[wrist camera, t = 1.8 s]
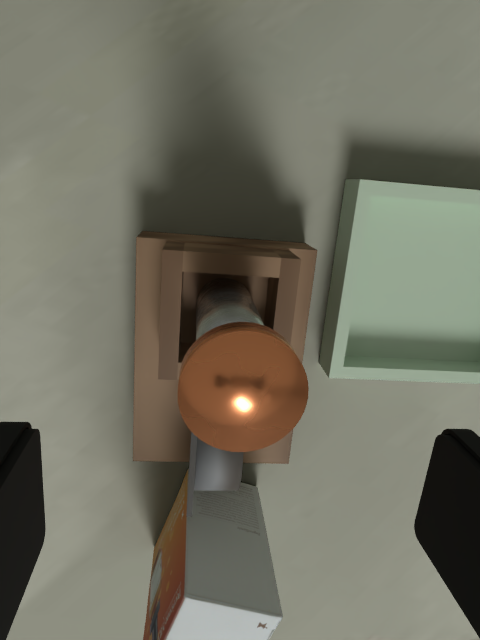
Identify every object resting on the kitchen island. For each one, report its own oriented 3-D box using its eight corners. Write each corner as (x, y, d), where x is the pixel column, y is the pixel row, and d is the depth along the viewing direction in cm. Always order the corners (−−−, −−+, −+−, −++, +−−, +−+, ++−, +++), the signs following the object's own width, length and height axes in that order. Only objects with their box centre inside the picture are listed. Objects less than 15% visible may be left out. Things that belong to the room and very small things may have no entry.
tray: (527, 196, 28) (558, 197, 26) (481, 369, 32) (504, 384, 29) (345, 179, 27) (360, 179, 25) (318, 362, 30) (329, 377, 28)
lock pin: (265, 269, 25) (316, 336, 14) (258, 342, 26) (299, 453, 16) (187, 264, 25) (180, 329, 14) (183, 339, 26) (174, 451, 15)
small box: (188, 464, 32) (184, 593, 22) (259, 484, 33) (286, 616, 23) (151, 549, 34) (132, 703, 24) (219, 566, 35) (228, 720, 25)
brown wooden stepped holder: (305, 243, 28) (347, 268, 20) (280, 438, 32) (307, 522, 24) (142, 231, 27) (120, 252, 19) (138, 435, 31) (118, 522, 23)
